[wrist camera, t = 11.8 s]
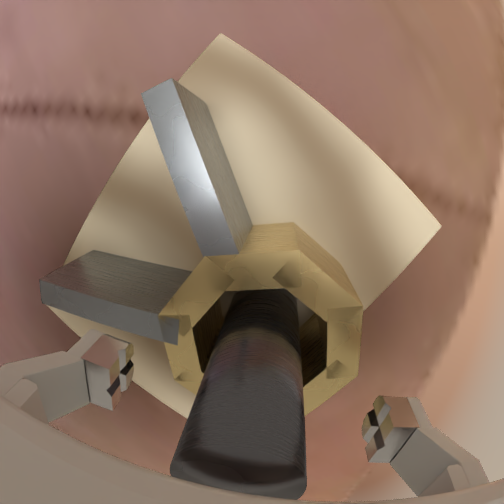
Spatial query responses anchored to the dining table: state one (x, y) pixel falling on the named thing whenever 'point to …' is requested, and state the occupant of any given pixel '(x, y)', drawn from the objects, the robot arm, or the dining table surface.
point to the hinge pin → (250, 403)
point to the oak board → (256, 196)
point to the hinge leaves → (215, 266)
